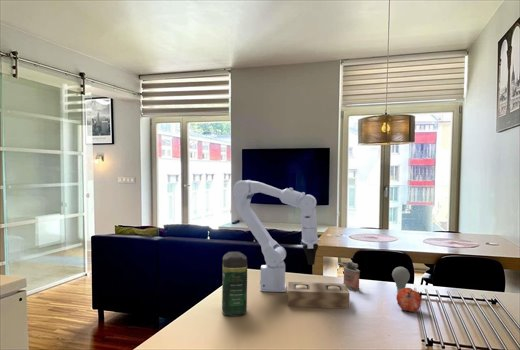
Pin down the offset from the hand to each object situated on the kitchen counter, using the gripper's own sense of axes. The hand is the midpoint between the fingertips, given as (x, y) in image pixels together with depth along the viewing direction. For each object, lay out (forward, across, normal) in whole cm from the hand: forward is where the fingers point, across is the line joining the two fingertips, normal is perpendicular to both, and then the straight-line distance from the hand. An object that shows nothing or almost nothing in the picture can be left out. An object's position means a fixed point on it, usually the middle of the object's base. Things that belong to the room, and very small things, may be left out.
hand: (311, 264), depth 131 cm
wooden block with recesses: (+11, -9, -1) cm, 14 cm away
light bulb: (+13, +3, -32) cm, 34 cm away
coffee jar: (+9, -21, +25) cm, 34 cm away
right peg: (+11, -9, -7) cm, 16 cm away
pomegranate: (+13, -12, -30) cm, 35 cm away
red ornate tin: (+12, +7, -15) cm, 20 cm away
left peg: (+10, -9, +4) cm, 14 cm away
